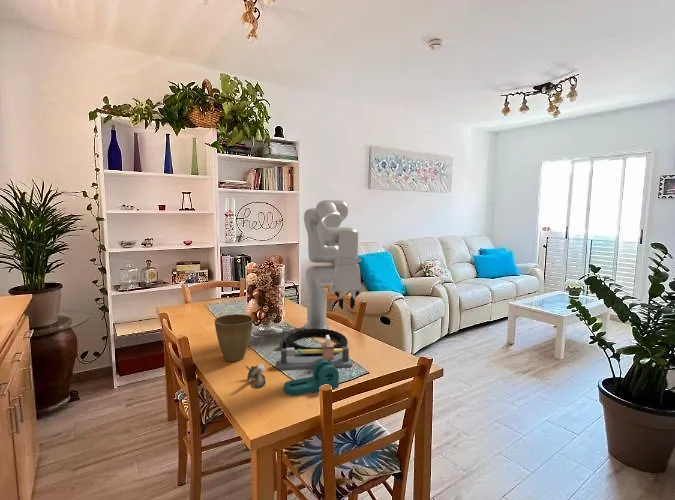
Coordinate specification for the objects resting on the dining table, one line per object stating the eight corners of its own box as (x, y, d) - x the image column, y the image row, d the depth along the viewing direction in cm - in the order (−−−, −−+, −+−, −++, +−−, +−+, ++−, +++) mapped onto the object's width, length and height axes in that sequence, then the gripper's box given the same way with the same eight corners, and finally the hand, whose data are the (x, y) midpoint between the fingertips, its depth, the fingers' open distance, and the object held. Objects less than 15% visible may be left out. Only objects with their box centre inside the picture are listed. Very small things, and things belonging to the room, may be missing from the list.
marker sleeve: (322, 355, 150) (322, 335, 149) (332, 354, 150) (332, 334, 149) (323, 360, 145) (323, 339, 144) (333, 359, 145) (333, 339, 144)
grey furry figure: (239, 376, 133) (242, 382, 124) (250, 357, 134) (253, 362, 126) (258, 385, 135) (261, 392, 126) (268, 367, 136) (272, 373, 128)
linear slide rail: (278, 360, 149) (278, 345, 148) (348, 358, 153) (348, 343, 152) (278, 369, 141) (278, 353, 140) (351, 366, 145) (352, 350, 144)
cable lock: (357, 345, 158) (286, 352, 149) (356, 354, 159) (286, 362, 149) (335, 325, 184) (274, 330, 174) (335, 332, 185) (274, 338, 175)
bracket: (330, 379, 135) (331, 358, 134) (338, 387, 128) (339, 365, 128) (281, 388, 127) (281, 366, 126) (287, 397, 121) (287, 374, 120)
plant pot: (258, 361, 148) (258, 321, 146) (219, 368, 141) (218, 327, 139) (247, 348, 161) (247, 311, 159) (211, 354, 154) (210, 316, 152)
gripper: (366, 259, 149) (365, 305, 151) (325, 259, 147) (324, 305, 149) (371, 262, 141) (369, 310, 143) (327, 262, 139) (326, 311, 141)
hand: (346, 307), depth 146 cm, fingers open, 3 cm apart
